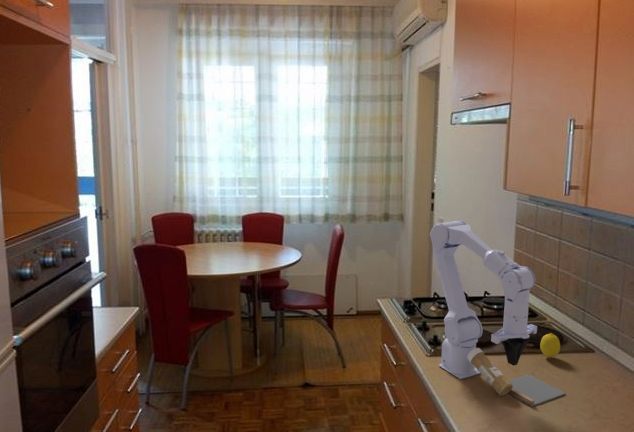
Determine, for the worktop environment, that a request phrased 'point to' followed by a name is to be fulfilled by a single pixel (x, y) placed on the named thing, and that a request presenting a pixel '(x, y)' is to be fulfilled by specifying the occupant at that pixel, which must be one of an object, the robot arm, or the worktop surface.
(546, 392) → the mat
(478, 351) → the sprinkles bottle
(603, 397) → the worktop surface
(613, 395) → the worktop surface
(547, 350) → the lemon
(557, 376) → the worktop surface
